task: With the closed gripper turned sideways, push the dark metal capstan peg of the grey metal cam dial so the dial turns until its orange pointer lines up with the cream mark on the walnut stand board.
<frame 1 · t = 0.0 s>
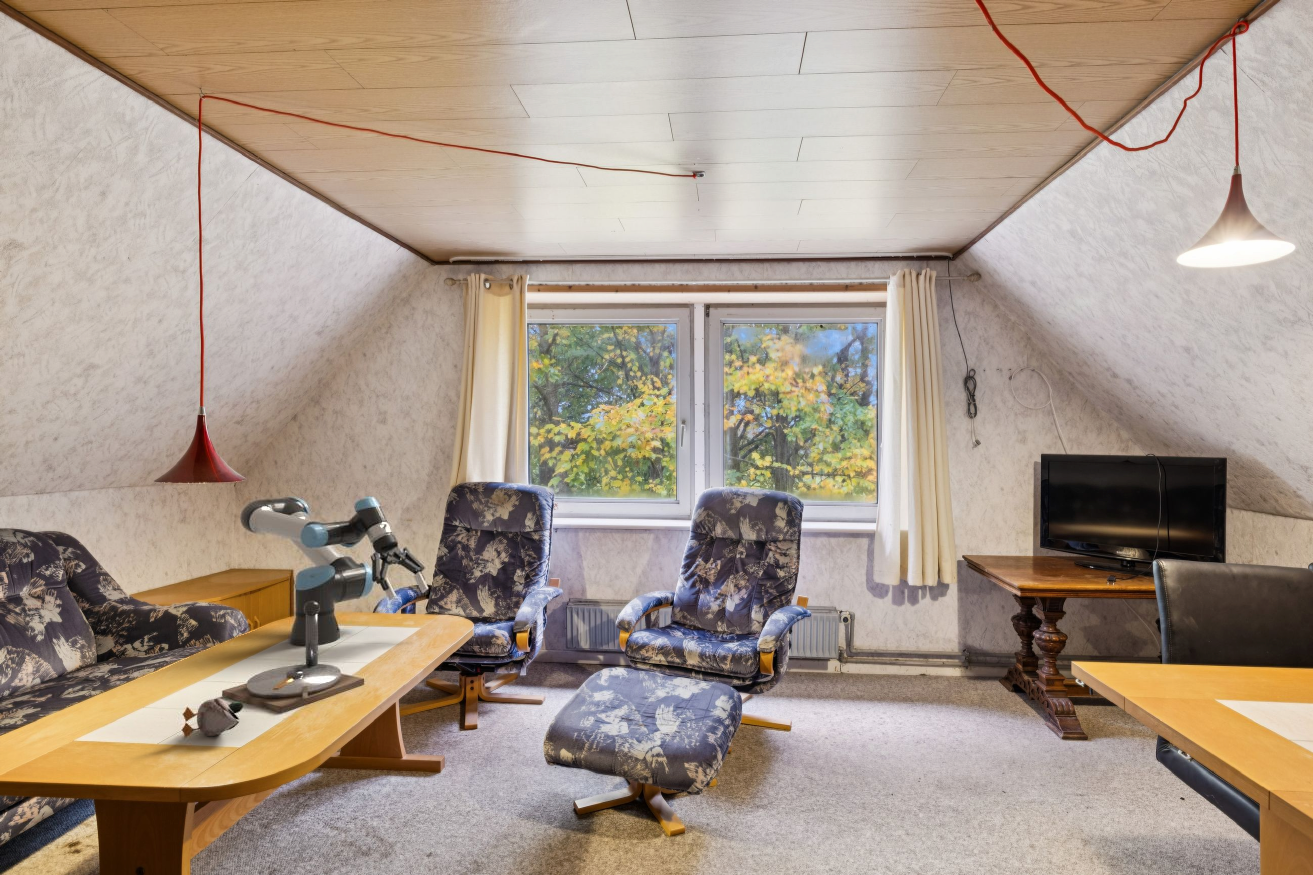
hand: (409, 594, 242), 15 cm above the table, fingers open, 13 cm apart
decorative duck model: (225, 732, 167), on the table
cam dial: (295, 645, 195), point 11 cm above the table, hinge at -35.0°
walnut stand board: (294, 690, 194), on the table
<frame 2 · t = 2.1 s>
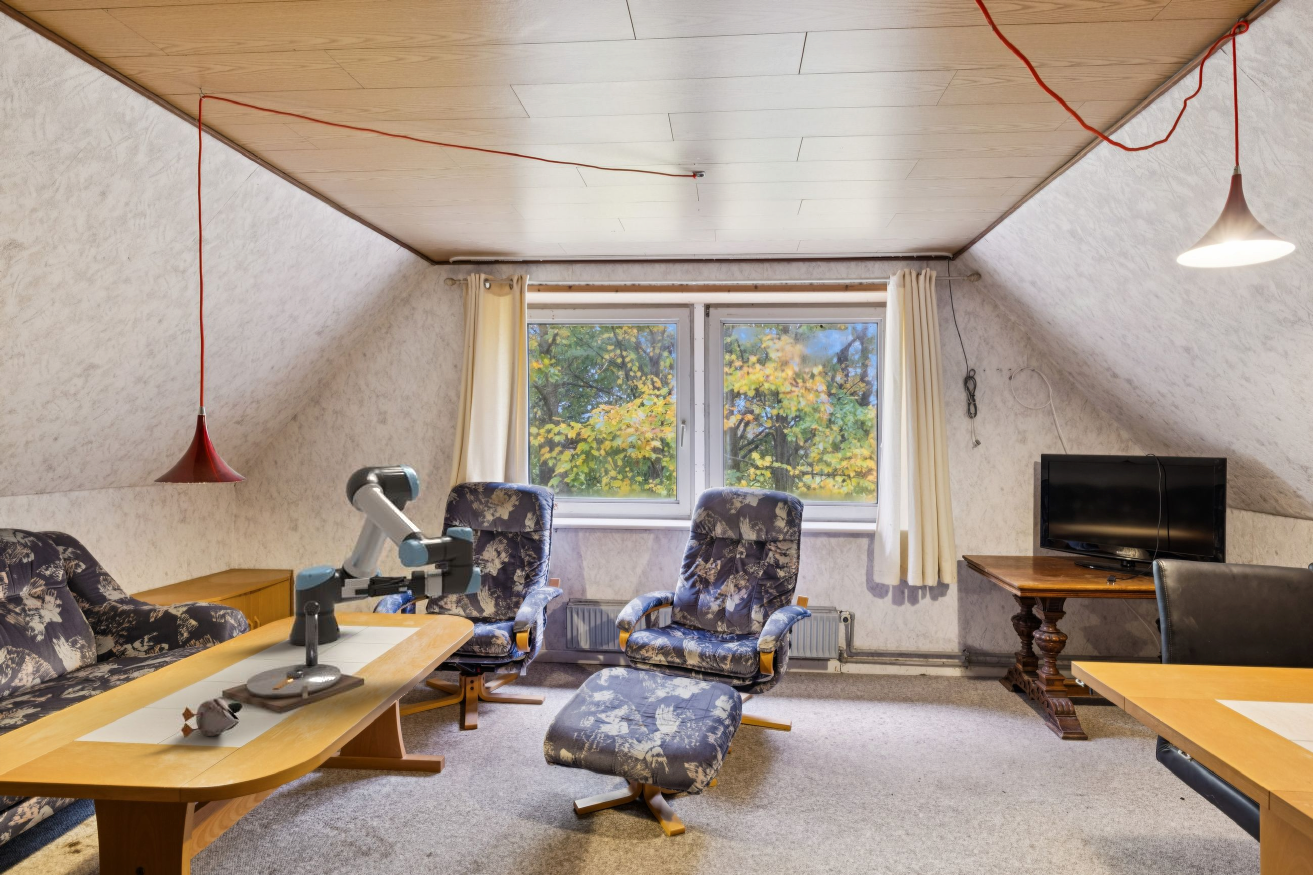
hand: (343, 588, 207), 24 cm above the table, fingers open, 11 cm apart
nothing on the table moved.
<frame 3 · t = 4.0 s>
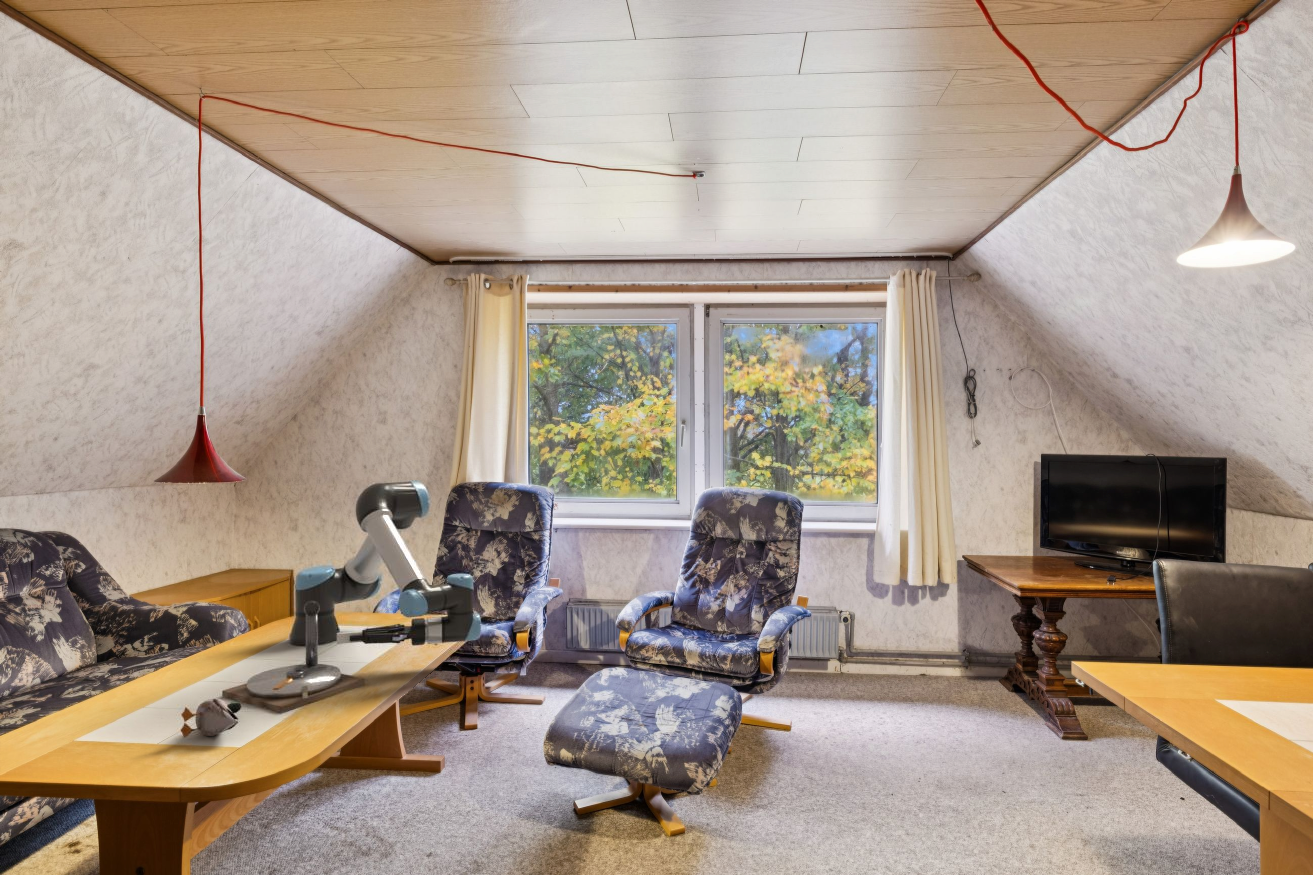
hand: (337, 638, 206), 10 cm above the table, fingers closed
nothing on the table moved.
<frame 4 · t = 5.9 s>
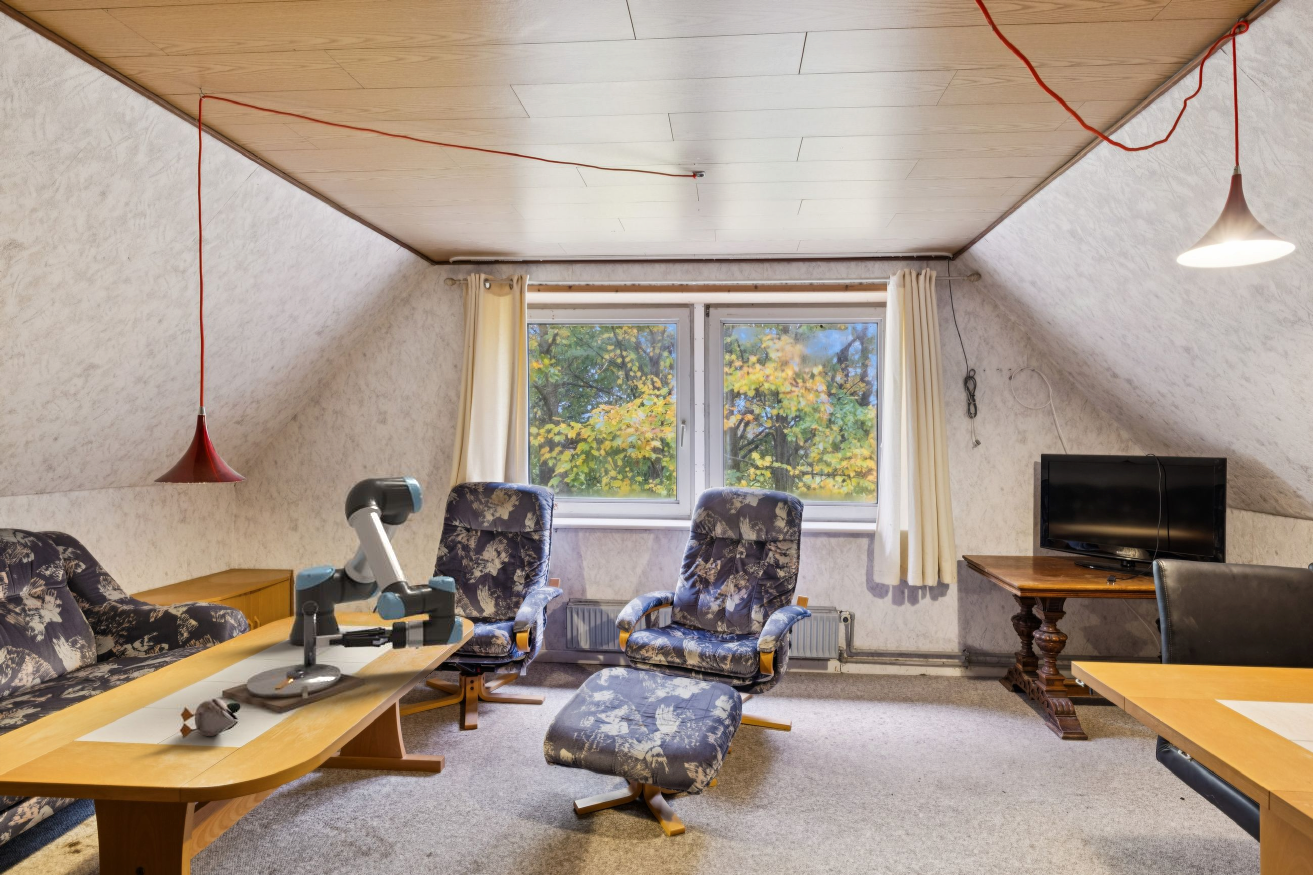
hand: (316, 641, 204), 10 cm above the table, fingers closed
cam dial: (295, 645, 195), point 11 cm above the table, hinge at -32.2°, touching gripper
everything else where it was.
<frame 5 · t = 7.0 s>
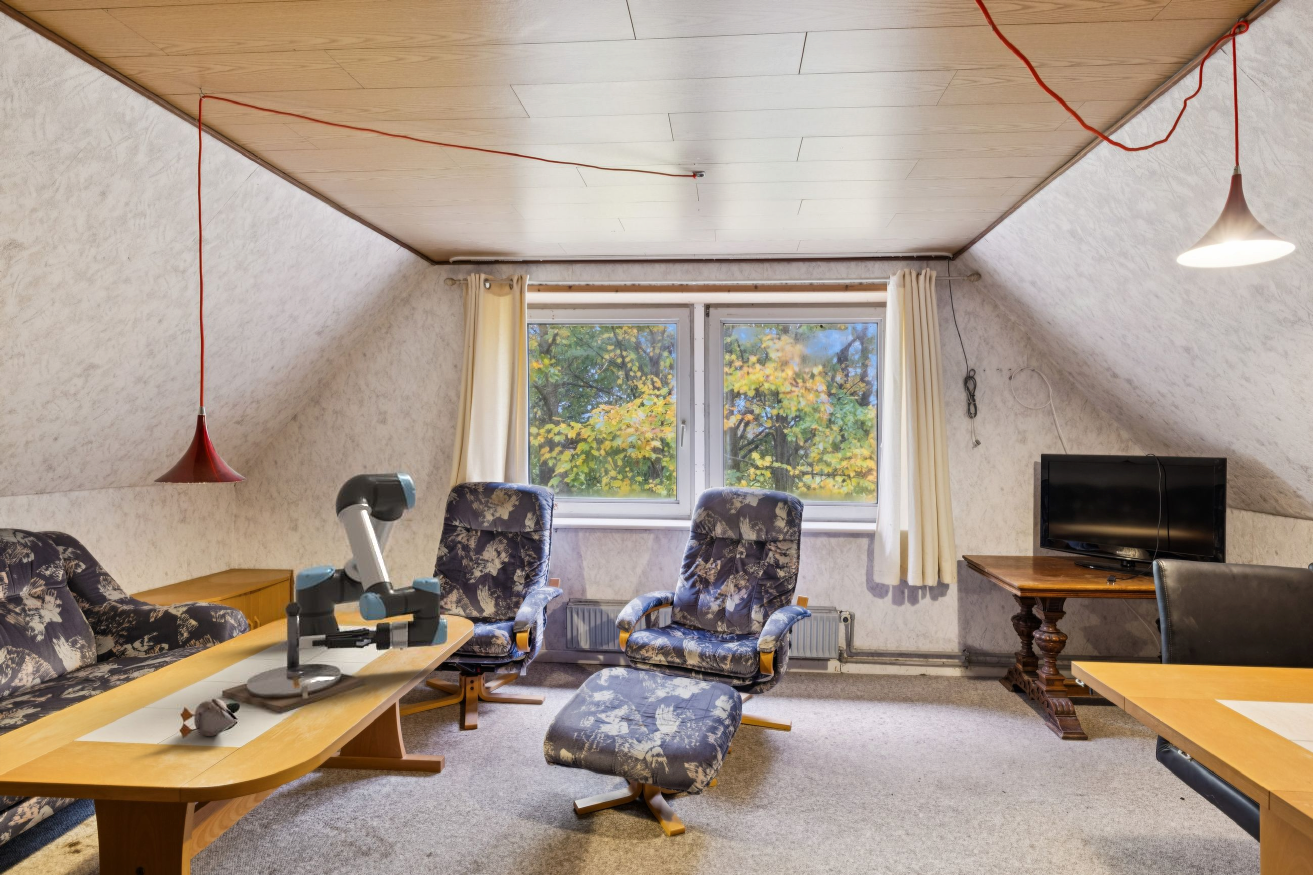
hand: (299, 642, 204), 10 cm above the table, fingers closed, pressing on cam dial
cam dial: (294, 645, 195), point 11 cm above the table, hinge at -7.7°, touching gripper
everything else where it was.
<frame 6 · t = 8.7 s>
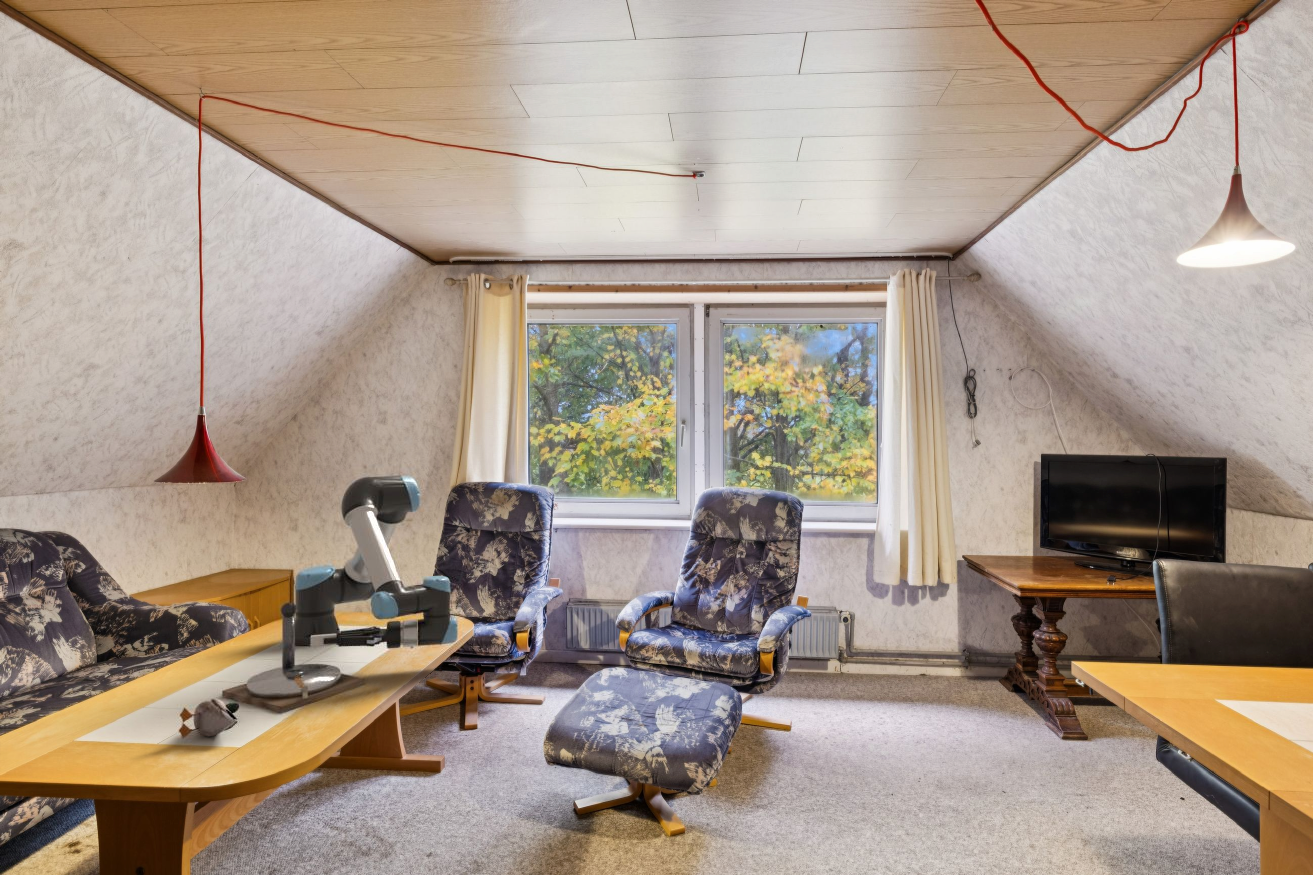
hand: (311, 640, 204), 10 cm above the table, fingers closed
cam dial: (294, 645, 195), point 11 cm above the table, hinge at -1.1°
everything else where it was.
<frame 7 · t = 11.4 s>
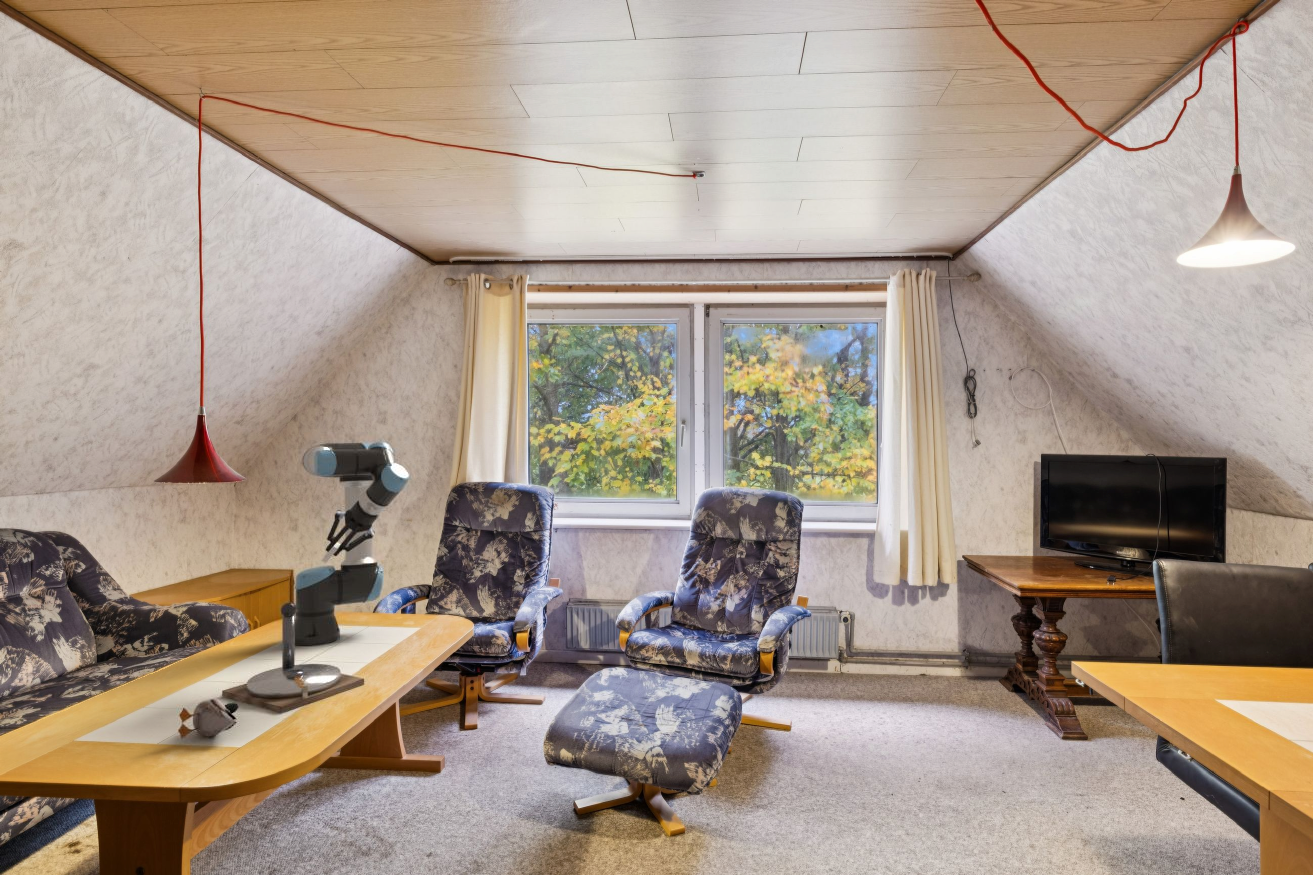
hand: (325, 559, 224), 30 cm above the table, fingers closed
nothing on the table moved.
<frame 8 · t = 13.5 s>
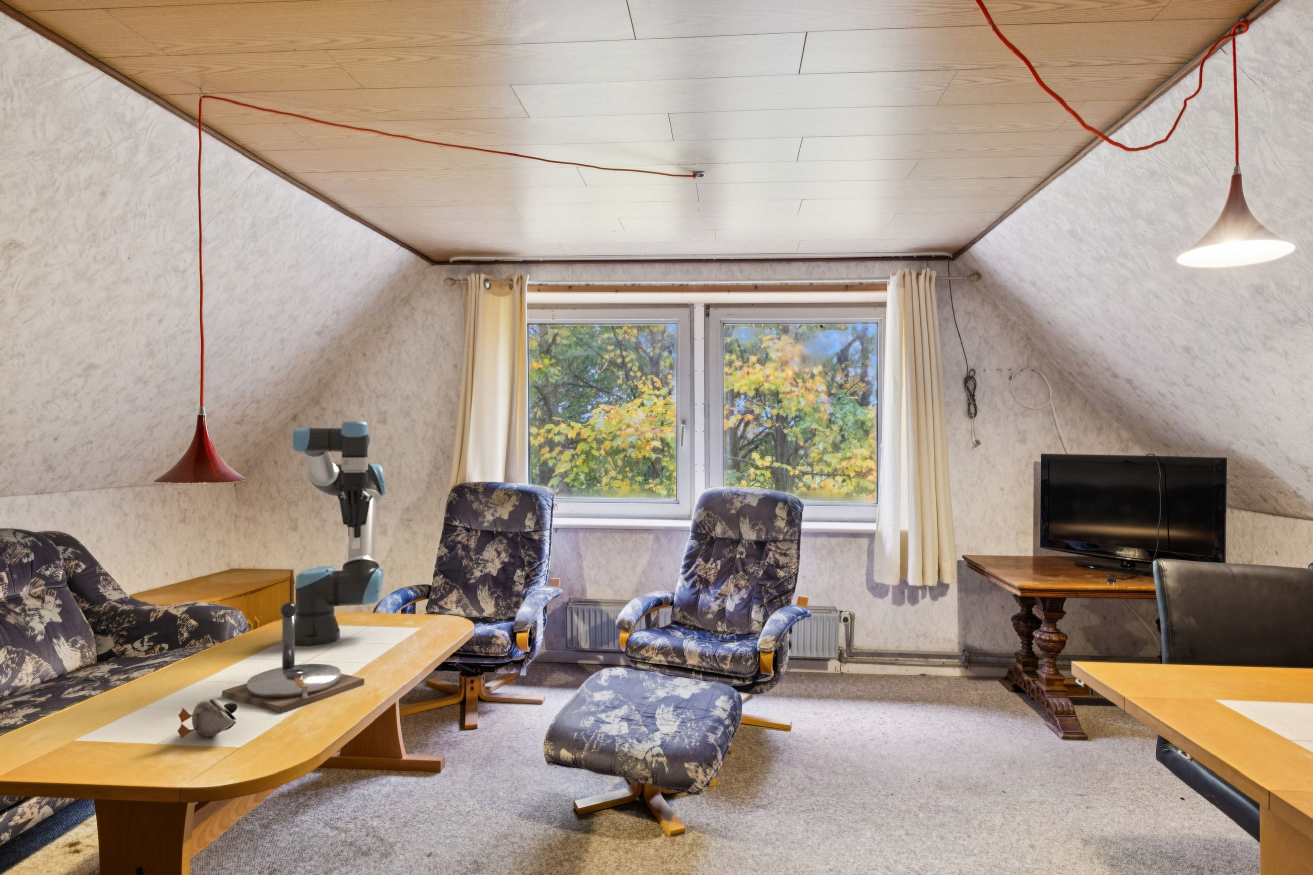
hand: (354, 548, 228), 32 cm above the table, fingers closed
nothing on the table moved.
at the end: cam dial at -1° (first picture: -35°); decorative duck model moved 0.9 cm from its start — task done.
